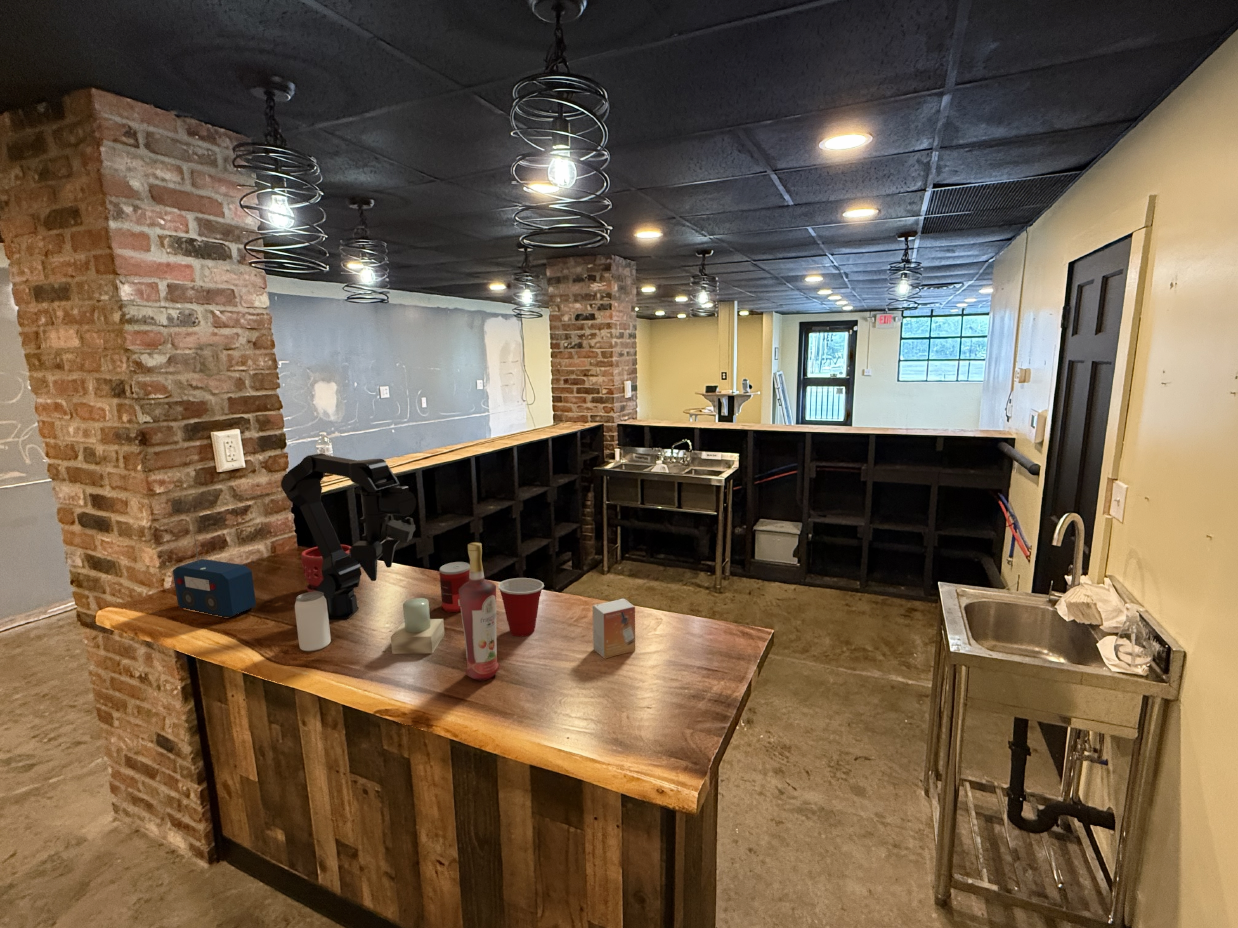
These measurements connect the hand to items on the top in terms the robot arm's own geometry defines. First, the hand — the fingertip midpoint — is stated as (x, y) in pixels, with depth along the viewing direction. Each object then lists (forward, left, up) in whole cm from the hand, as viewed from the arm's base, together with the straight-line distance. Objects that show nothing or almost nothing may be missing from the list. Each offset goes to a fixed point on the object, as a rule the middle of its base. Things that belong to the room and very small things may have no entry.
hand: (381, 573), depth 145 cm
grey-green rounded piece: (+12, -11, -9) cm, 19 cm away
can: (-12, -11, -13) cm, 21 cm away
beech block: (+12, -11, -13) cm, 21 cm away
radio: (-49, +10, -13) cm, 52 cm away
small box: (+57, -15, -13) cm, 60 cm away
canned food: (+15, +10, -13) cm, 22 cm away
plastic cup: (+35, -5, -13) cm, 38 cm away
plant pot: (-25, +23, -13) cm, 36 cm away
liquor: (+30, -25, -13) cm, 41 cm away
